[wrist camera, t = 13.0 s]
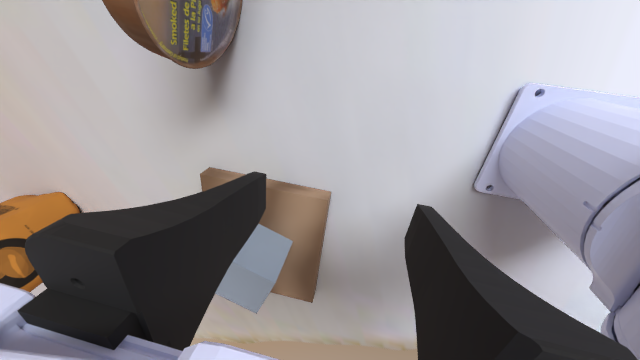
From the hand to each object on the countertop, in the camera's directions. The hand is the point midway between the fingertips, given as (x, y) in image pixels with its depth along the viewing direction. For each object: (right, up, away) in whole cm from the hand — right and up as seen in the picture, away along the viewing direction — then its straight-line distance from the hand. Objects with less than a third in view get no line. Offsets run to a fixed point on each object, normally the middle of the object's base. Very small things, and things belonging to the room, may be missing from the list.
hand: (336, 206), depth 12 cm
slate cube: (-7, -5, +14) cm, 16 cm away
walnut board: (-6, -5, +15) cm, 17 cm away
